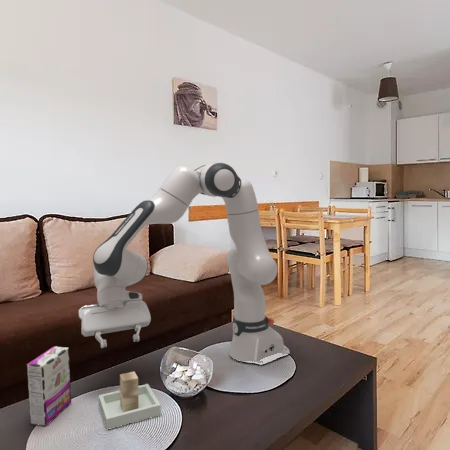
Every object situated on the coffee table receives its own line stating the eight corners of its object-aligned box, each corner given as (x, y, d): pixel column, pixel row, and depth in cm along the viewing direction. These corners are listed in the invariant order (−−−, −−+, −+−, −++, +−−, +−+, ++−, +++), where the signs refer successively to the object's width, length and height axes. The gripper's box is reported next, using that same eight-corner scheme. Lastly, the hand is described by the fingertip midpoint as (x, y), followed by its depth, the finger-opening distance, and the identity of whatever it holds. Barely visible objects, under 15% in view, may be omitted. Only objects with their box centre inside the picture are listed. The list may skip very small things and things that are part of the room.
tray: (148, 393, 113) (147, 383, 113) (160, 415, 103) (160, 404, 102) (98, 405, 107) (98, 395, 106) (106, 430, 96) (106, 419, 96)
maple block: (134, 401, 107) (134, 371, 106) (138, 409, 104) (138, 377, 103) (120, 405, 105) (119, 374, 104) (123, 413, 102) (123, 381, 101)
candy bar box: (56, 400, 109) (54, 345, 107) (71, 402, 108) (70, 347, 106) (28, 424, 98) (25, 363, 96) (45, 427, 97) (43, 365, 95)
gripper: (78, 301, 112) (83, 346, 105) (146, 292, 122) (156, 333, 114) (76, 311, 117) (82, 355, 109) (142, 302, 126) (152, 341, 119)
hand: (120, 343), depth 112 cm, fingers open, 8 cm apart
